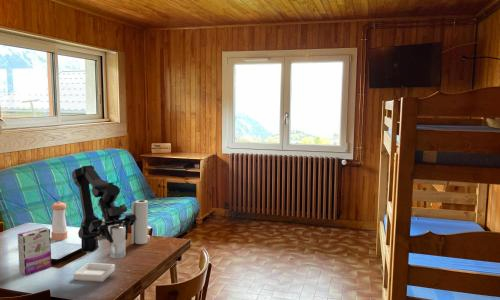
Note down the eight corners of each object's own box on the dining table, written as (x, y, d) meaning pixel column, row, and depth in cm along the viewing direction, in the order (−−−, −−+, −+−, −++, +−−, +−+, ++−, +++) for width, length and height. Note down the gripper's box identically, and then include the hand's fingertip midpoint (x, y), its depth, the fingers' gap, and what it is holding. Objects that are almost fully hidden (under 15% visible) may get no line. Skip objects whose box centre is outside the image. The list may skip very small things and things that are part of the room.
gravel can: (107, 257, 161) (107, 228, 160) (115, 252, 167) (115, 224, 166) (120, 259, 160) (120, 230, 159) (128, 253, 166) (128, 225, 164)
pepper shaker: (70, 237, 203) (69, 201, 201) (56, 241, 197) (56, 203, 195) (61, 235, 207) (61, 199, 205) (48, 238, 201) (47, 201, 199)
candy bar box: (45, 264, 169) (44, 226, 168) (51, 266, 167) (51, 228, 165) (18, 272, 160) (17, 233, 158) (25, 275, 157) (23, 235, 155)
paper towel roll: (148, 240, 203) (149, 199, 200) (146, 244, 196) (146, 202, 194) (134, 240, 202) (134, 199, 200) (131, 244, 196) (131, 202, 194)
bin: (73, 280, 155) (73, 273, 155) (88, 268, 166) (88, 262, 166) (102, 282, 154) (102, 275, 154) (114, 270, 165) (114, 264, 165)
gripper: (91, 201, 158) (101, 235, 151) (134, 195, 170) (146, 226, 163) (84, 216, 164) (94, 249, 157) (126, 209, 177) (138, 240, 170)
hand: (119, 241), depth 162 cm, fingers closed on gravel can, 6 cm apart
